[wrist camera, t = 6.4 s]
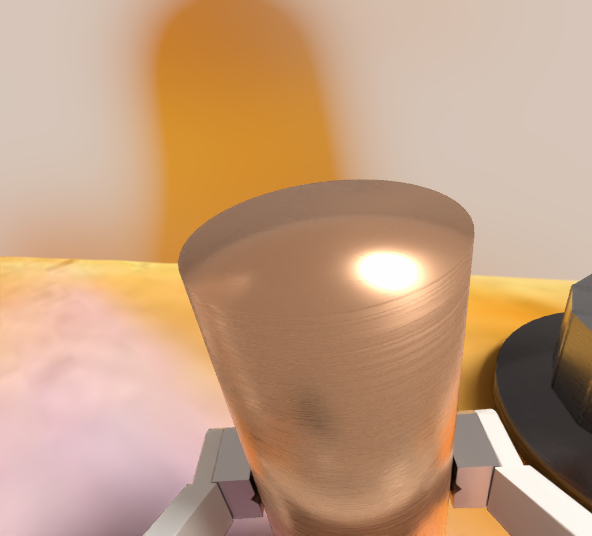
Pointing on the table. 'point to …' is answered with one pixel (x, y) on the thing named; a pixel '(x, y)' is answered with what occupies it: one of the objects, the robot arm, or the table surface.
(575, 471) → the pipe sleeve
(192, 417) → the table surface
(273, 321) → the copper pipe
